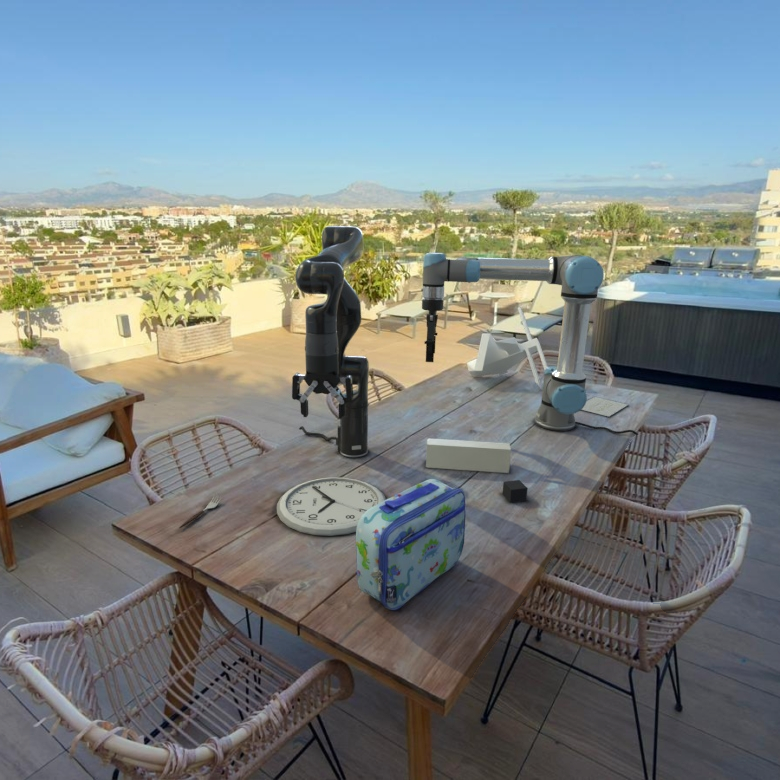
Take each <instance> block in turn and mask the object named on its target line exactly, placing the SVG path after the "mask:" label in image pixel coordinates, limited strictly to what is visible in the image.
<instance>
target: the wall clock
mask: <svg viewBox="0 0 780 780" xmlns="http://www.w3.org/2000/svg"><path fill="white" fill-rule="evenodd" d="M385 500H387V498H386V496H385V494H384V493H383V492H382V491H381V490H380V489H379V488H377V487H376V486H374V485H372V484H371V483H369V482H365V481H362V480H359V479H355V478H349V477H338V476H337V477H335V476H333V477H332V476H331V477H322V478H317V479H312V480H307V481H305V482H302V483H299V484H297V485H295V486H293V487H292V488H290V489H288V490H287V491H286V492H285V493H284V494H283V495H281V496H280V498H279V499H278V502H277V503H276V515H277V517H278V518H279V520H280V521H281V522H282V523H283V524H285V525H286V526H287V527H288V528H290V529H293V530H295V531H297V532H299V533H303V534H308V535H312V536H327V537H328V536H329V537H331V536H332V537H333V536H342V535H350V534H352V533H356V529H357V525H358V522H359V520H360V518H361V516H362V515H363V513H364V512H365V511H366V510H368V509H369V508H371V507H373V506H375V505H377V504H379V503H381V502H383V501H385Z"/></svg>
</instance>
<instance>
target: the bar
mask: <svg viewBox="0 0 780 780" xmlns="http://www.w3.org/2000/svg"><path fill="white" fill-rule="evenodd" d="M511 454H512V448H511V443H509V442H493V441H479V440H477V441H476V440H463V439H446V438H429V437H427V440H426V454H425V455H426V457H425V468H426V469H427V468H428V469H442V470H443V469H444V470H456V471H473V472H485V473H486V472H487V473H502V474H510V466H511Z"/></svg>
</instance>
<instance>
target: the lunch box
mask: <svg viewBox="0 0 780 780" xmlns="http://www.w3.org/2000/svg"><path fill="white" fill-rule="evenodd" d="M465 532H466V495H465V492H464V491H463V490H462V489H461V488H453V487H451V486H449V485H447V484H445V483H443V482H442V481H440V480H437V479H435V478H430V479H426V480H424V481H422V482H420V483H417V484H415V485H413V486H411V487H409V488H407V489H405V490H403V491H401V492H399V493H397V494H395V495H393V496H391V497H389V498H386V500H385V501H383V502H381V503H379V504H377V505H375V506H373V507H371V508H369V509H368V510H366V511H365V512H364V513H363V515H362V516H361V518H360V520H359V522H358V525H357V529H356V532H355V551H356V579H357V580H356V581H357V585H358V588H359V590H360V591H361V592H363V593H365V594H366V595H369V596H371V597H372V598H374V599H375V600H376V601H378V602H380V603H381V604H382V606H383V607H384V608H386V609H388V610H391V611H397V610H399V609H401V608H402V607H403V606H405V604H406V603H407V602H409V601H410V600H412V598H414V597H415V596H417V594H419V593H421V592H422V591H423V590H425V588H426V587H428V586H430V585H431V584H432V583H433V582H434V581H435V580H436V579H438V578H439V577H440V576H442V575H444V574H446V572H448V571H450V570H451V569H452V568H453V567H454V566H455V565H456V564H457V563H458V561H459V559H460V558H461V555H462V552H463V549H464V546H465V545H464V544H465V536H466V535H465V534H466V533H465Z"/></svg>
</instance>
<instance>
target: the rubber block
mask: <svg viewBox="0 0 780 780" xmlns="http://www.w3.org/2000/svg"><path fill="white" fill-rule="evenodd" d="M502 483H503V484H502V495H503V496H504V497H505V499H506V500H507V501H508V502H509V503H519V502H526V501H527V499H528V498H527V497H528V486H526V485H525V484H524V483H523V482H522V481H521V480H520V479H516V480H507V481H503V482H502Z"/></svg>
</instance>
